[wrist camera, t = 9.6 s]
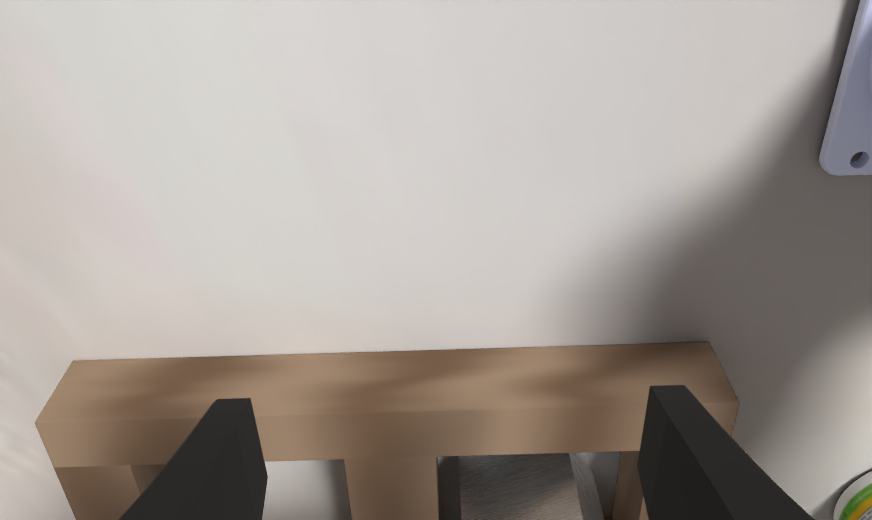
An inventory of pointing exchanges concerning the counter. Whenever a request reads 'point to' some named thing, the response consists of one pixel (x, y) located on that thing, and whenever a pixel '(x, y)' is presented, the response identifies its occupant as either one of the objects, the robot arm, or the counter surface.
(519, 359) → the socket board
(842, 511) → the supplement bottle
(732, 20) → the counter surface
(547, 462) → the plug
